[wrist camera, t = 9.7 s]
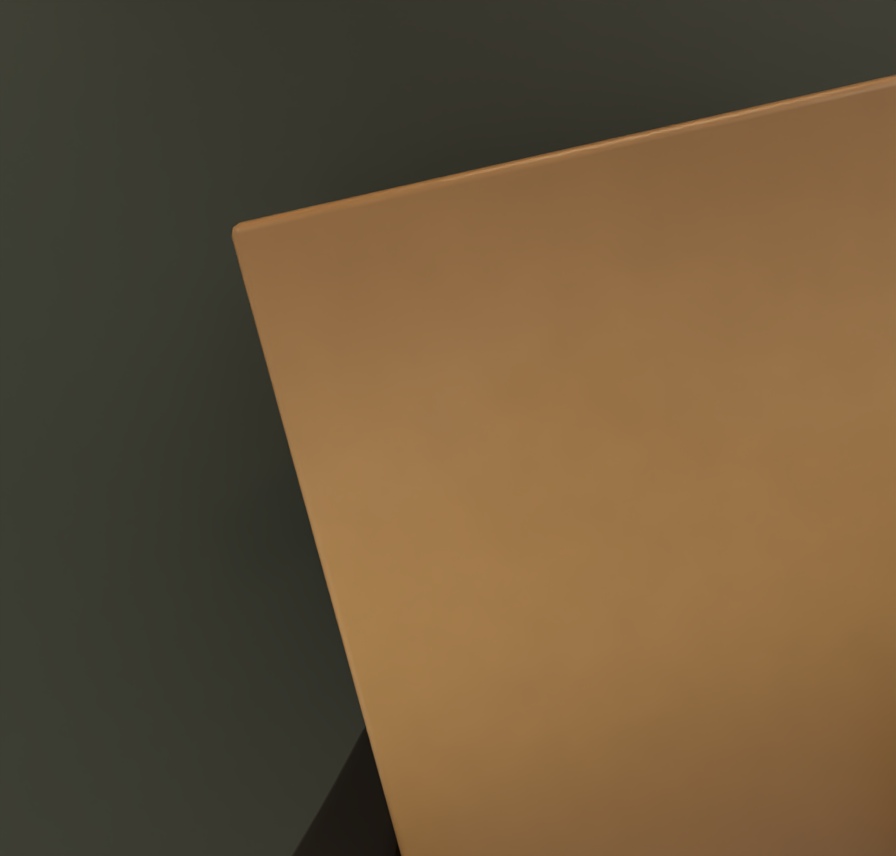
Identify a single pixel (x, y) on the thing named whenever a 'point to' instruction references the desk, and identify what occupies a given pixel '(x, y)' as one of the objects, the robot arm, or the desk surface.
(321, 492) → the eraser
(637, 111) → the slate board
